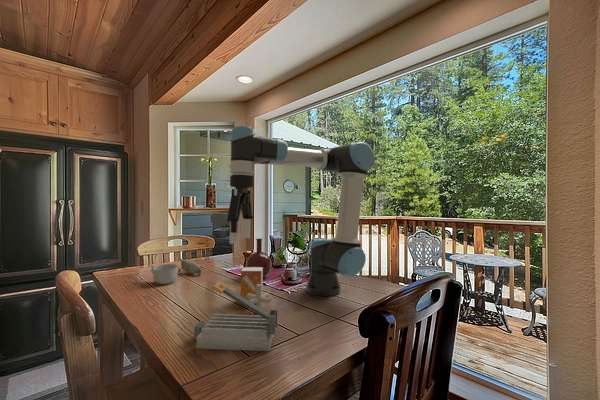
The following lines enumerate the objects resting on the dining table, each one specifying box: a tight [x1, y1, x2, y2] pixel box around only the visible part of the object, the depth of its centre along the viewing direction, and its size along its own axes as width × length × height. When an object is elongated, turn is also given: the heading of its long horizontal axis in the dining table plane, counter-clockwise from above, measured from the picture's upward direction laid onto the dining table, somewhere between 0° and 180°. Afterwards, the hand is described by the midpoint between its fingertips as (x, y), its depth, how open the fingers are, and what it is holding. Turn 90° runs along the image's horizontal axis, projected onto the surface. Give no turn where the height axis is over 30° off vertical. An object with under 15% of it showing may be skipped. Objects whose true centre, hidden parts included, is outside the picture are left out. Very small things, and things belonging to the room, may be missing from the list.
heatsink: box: [193, 308, 279, 352], centre depth 84 cm, size 23×12×8 cm, turn 87°
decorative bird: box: [177, 258, 202, 277], centre depth 156 cm, size 5×16×8 cm, turn 59°
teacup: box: [150, 263, 179, 286], centre depth 140 cm, size 14×11×8 cm
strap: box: [212, 280, 270, 320], centre depth 84 cm, size 20×5×1 cm
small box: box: [239, 266, 264, 305], centre depth 115 cm, size 8×6×13 cm
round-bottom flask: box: [245, 238, 273, 278], centre depth 151 cm, size 13×13×20 cm
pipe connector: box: [247, 284, 272, 309], centre depth 104 cm, size 10×10×10 cm
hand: (240, 240), depth 94 cm, fingers open, 13 cm apart
